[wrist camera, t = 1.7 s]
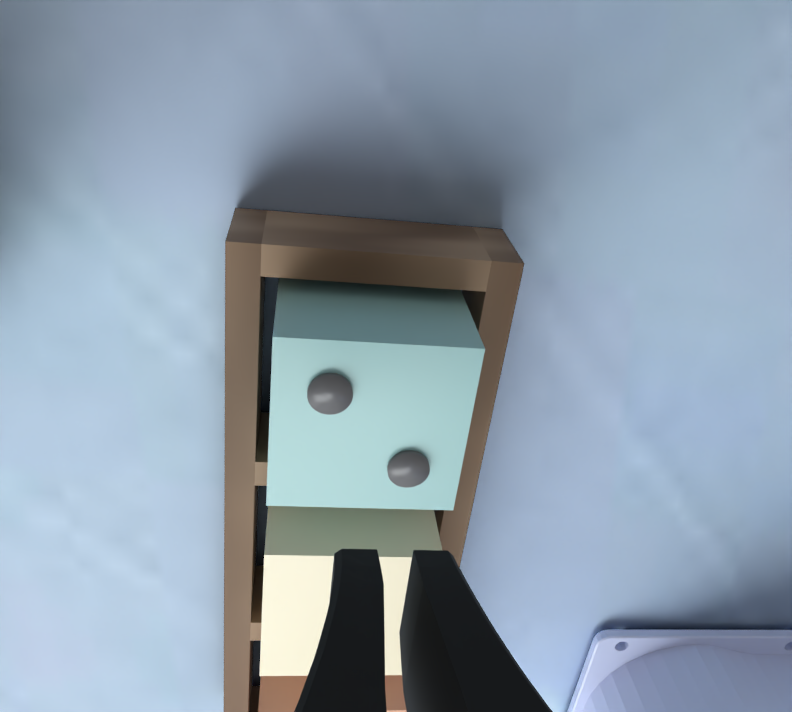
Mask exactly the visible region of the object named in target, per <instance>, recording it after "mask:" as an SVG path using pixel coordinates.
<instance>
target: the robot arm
mask: <svg viewBox="0 0 792 712" xmlns="http://www.w3.org/2000/svg"><path fill="white" fill-rule="evenodd" d="M399 635H400V652H401V667H402V681H403V693H404V699H405V705H406V711H407V712H552V710H551V709H550V708H549V707H548V705H547V704H546V703H545V701H544V700H543V699H542V697H541V696H540V695H539V693H538V692H537V690H536V689H535V688H534V686H533V685H532V684H531V682H530V681H529V680H528V678H527V677H526V675H525V674H524V672H523V671H522V670H521V668H520V667H519V665H518V664H517V662H516V661H515V659H514V658H513V656H512V655H511V653H510V652H509V650H508V649H507V647H506V646H505V644H504V643H503V641H502V639H501V638H500V636H499V635H498V633H497V632H496V630H495V629H494V627H493V625H492V624H491V622H490V621H489V619H488V617H487V616H486V614H485V612H484V611H483V609H482V607H481V606H480V604H479V602H478V601H477V599H476V597H475V595H474V594H473V592H472V590H471V588H470V587H469V585H468V583H467V581H466V579H465V577H464V576H463V574H462V572H461V570H460V568H459V566H458V564H457V562H456V560H455V558H454V556H453V555H452V554H451V553H450V552H449V551H446V550H413V555H412V561H411V567H410V573H409V578H408V584H407V590H406V596H405V602H404V608H403V614H402V620H401V626H400V631H399ZM294 712H387V708H386V693H385V633H384V582H383V576H382V571H381V565H380V561H379V556H378V551H377V549H340V550H339V551H338V552H336V553H335V554H334V562H333V572H332V582H331V592H330V602H329V607H328V611H327V616H326V619H325V623H324V626H323V630H322V633H321V637H320V640H319V644H318V647H317V650H316V654H315V657H314V660H313V663H312V665H311V668H310V671H309V674H308V676H307V679H306V682H305V685H304V687H303V690H302V693H301V695H300V698H299V701H298V703H297V706H296V708H295V711H294ZM567 712H792V630H624V629H608V630H603V631H600V632H599V633H597V634H596V635H595V637H594V638H593V641H592V644H591V647H590V649H589V652H588V655H587V658H586V661H585V663H584V666H583V669H582V672H581V675H580V678H579V680H578V683H577V686H576V689H575V692H574V694H573V697H572V700H571V703H570V706H569V708H568V711H567Z"/></svg>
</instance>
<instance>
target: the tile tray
mask: <svg viewBox="0 0 792 712" xmlns="http://www.w3.org/2000/svg"><path fill="white" fill-rule="evenodd" d="M523 267H524V262H523V261H522V259H521V258H520V256H519V255H518V253H517V251H516V250H515V248H514V247H513V245H512V244H511V242H510V241H509V239H508V237H507V236H506V234H505V233H504V231H503V230H502V229H494V228H481V227H469V226H456V225H444V224H431V223H419V222H406V221H394V220H381V219H369V218H356V217H344V216H331V215H319V214H307V213H294V212H282V211H269V210H257V209H244V208H235V211H234V214H233V218H232V221H231V225H230V228H229V231H228V235H227V238H226V242H225V527H224V712H258V706H259V693H260V686H252V678H253V646H254V641H261V623H262V597H263V571H264V566H259V565H256V552H257V520H258V489H259V486H267V467H268V441H269V416H270V413H268V412H261V395H262V363H263V332H264V300H265V277H276V278H291V279H306V280H320V281H335V282H350V283H365V284H379V285H394V286H409V287H424V288H438V289H453V290H462V294H463V297H464V299H465V301H466V304H467V306H468V309H469V311H470V313H471V316H472V318H473V321H474V323H475V325H476V328H477V330H478V333H479V335H480V338H481V340H482V342H483V345H484V347H485V353H484V358H483V363H482V368H481V373H480V378H479V383H478V388H477V393H476V398H475V403H474V408H473V413H472V418H471V423H470V428H469V433H468V438H467V444H466V449H465V454H464V459H463V464H462V469H461V474H460V479H459V484H458V489H457V494H456V499H455V504H454V509H453V510H434V513H435V518H436V522H437V527H438V532H439V537H440V542H441V546H442V550H446V551H449V552H450V553H451V554H452V555H453V556H454V558H455V560H456V562H457V564H458V566H459V567H460V562H461V557H462V553H463V548H464V543H465V539H466V534H467V529H468V524H469V520H470V515H471V510H472V506H473V501H474V496H475V492H476V487H477V482H478V478H479V473H480V468H481V464H482V459H483V454H484V450H485V445H486V440H487V435H488V431H489V426H490V421H491V417H492V412H493V407H494V403H495V398H496V393H497V389H498V384H499V379H500V375H501V370H502V365H503V361H504V356H505V351H506V347H507V342H508V337H509V332H510V328H511V323H512V318H513V314H514V309H515V304H516V300H517V295H518V290H519V286H520V281H521V276H522V272H523Z"/></svg>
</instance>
